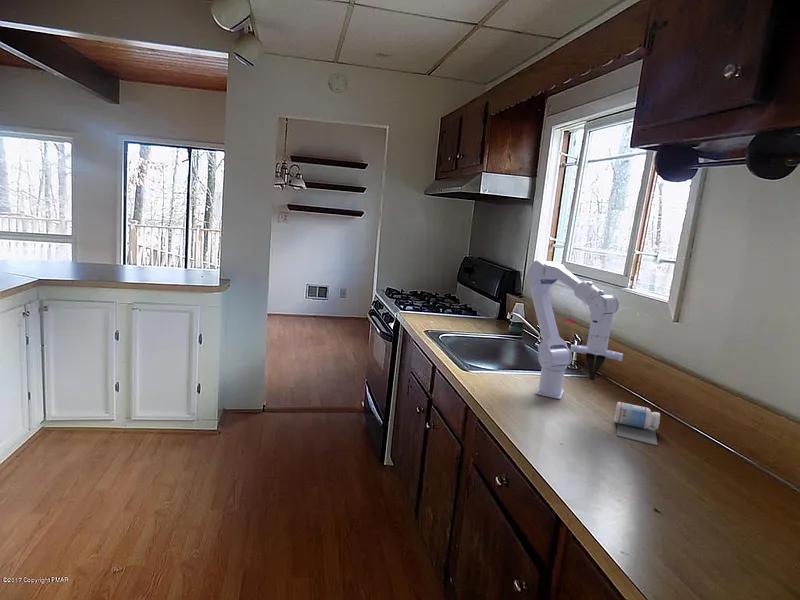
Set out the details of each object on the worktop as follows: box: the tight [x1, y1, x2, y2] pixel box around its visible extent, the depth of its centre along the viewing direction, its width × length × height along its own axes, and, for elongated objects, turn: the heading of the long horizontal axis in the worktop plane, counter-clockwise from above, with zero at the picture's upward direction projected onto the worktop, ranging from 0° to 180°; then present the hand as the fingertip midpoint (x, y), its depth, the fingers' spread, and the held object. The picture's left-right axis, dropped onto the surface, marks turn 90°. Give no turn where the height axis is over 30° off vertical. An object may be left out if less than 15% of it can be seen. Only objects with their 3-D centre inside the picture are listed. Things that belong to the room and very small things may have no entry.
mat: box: [616, 423, 659, 447], centre depth 147 cm, size 20×10×1 cm, turn 157°
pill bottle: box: [613, 401, 661, 430], centre depth 146 cm, size 6×6×11 cm
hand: (591, 379), depth 153 cm, fingers closed
